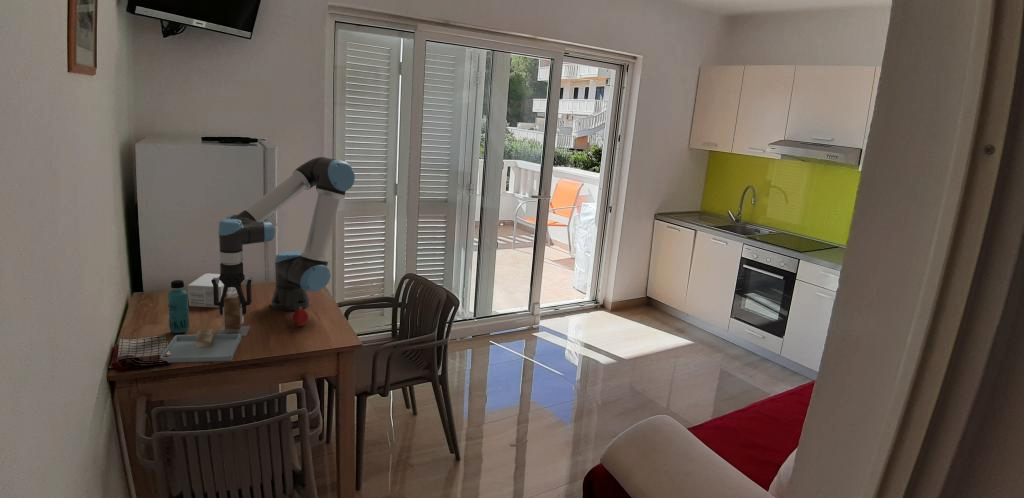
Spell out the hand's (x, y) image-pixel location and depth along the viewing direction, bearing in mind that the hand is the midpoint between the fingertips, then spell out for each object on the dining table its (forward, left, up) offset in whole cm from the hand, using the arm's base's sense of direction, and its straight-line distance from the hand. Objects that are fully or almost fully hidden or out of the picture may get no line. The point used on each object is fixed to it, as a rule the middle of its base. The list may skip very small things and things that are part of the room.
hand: (233, 322), depth 219 cm
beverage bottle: (+18, 0, -4) cm, 18 cm away
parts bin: (+7, +16, -4) cm, 18 cm away
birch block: (+7, +12, -4) cm, 14 cm away
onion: (-23, -5, -4) cm, 24 cm away
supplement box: (+14, -37, -4) cm, 40 cm away
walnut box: (0, 0, -2) cm, 2 cm away
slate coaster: (0, 0, -4) cm, 4 cm away
